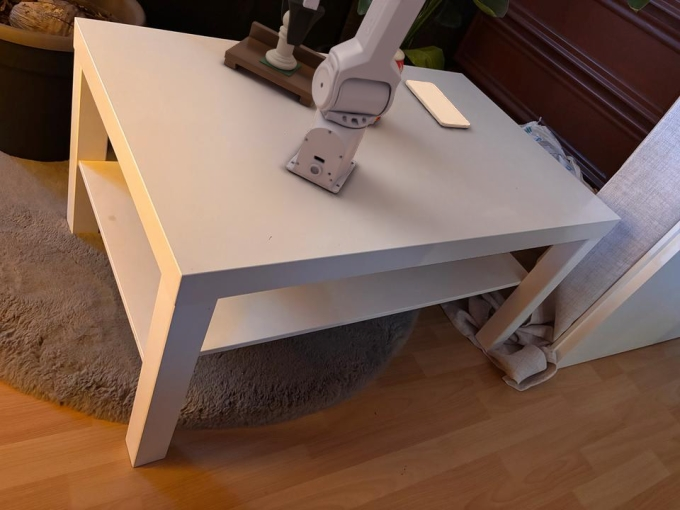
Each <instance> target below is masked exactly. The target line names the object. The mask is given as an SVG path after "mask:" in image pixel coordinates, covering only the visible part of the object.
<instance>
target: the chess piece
mask: <svg viewBox="0 0 680 510" xmlns="http://www.w3.org/2000/svg"><path fill="white" fill-rule="evenodd" d="M288 23H289V11H287V12H286V13H285V15H284V17H283V23H282V24H283V25H281V26H280V28H279V31H278V33H279V37H280V38H279V41H278V45H277V48H276V49H273V50H270V51H268V52H267V53H266V59H267V61H268V62H269V63H270V64H271V65H273V66H274V67H276V68H279V69H282V70H292V69H294V68H295V67H296V66H297V62H296V60H295V58H294V57H293V55H292V53H293V49H294V46H293V45H289V44H287V30H288Z"/></svg>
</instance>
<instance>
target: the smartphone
mask: <svg viewBox="0 0 680 510" xmlns="http://www.w3.org/2000/svg"><path fill="white" fill-rule="evenodd" d="M405 85H406V87H407V88H408V89H409V90H410V91H411V92H412V93H413V95H414V96H415V97H416V98H417V99H418V101H420V103H421V104H422V105H423V107H425V108H426V110H427V112H429V113H430V114H431V115H432V117H433V118H434V119H435V120H436V121H437V122H438V123H439V125H441V126H443V127H447V128H448V127H449V128H462V129H463V128H465V129H468V128H470V126H471V123H470V121H469V120H468V119H467V118H466V117H465V116H464V115H463V114H462V113H461V112H460V110H458V108H456V107H455V105H454V104H453V103H452V102H451V100H449V99H448V98H447V97H446V95H445V94H444V93H443V92H442V91H441V90H440V89H439V87H437V86H436V84H435V83H432V82H429V81H422V80H421V81H420V80H413V79H412V80H411V79H406V81H405Z"/></svg>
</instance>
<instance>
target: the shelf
mask: <svg viewBox="0 0 680 510" xmlns="http://www.w3.org/2000/svg"><path fill="white" fill-rule="evenodd" d="M279 38H280V37H279V31H278V32H277V31H276V30H274V29H272V28H270V27H267V26H266V25H263V24H262V23H260V22H258V21H256V20H255V21H253V22H252V23H251V27H250V31H249V34H248V36H247V37H245V38H243V39H242V40H240V41H239V42H237V43H236V44H234V45H233V46H231V47H230V48H228V49H226V50H225V52H224V56H223V58H224V61H223V64H224V65H226V66H227V67H229V68H231V69H234V70H235V69H237V68H238V67H242V68H244V69H247V70H248V71H250V72H252V73H254V74H256V75H257V76H260V77H262V78H264V79H266V80H268V81H269V82H271V83H274V84H276V85H277V86H280V87H282V88H283V89H286V90H287V91H289V92H292V93H293V94H296V95H297V96H299V97H300V99H299V103H301V104H303V105H305V106H307V107H308V108H311V107H312V106H313V105H314V104H315V102H314V100H313V96H312V82H313V77H314V74H315V71H316V69H317V68H318V67H319V65H320V64H321V63H322V62H323V61H324V60H325V59H326V58H327V56H326V55H323V54H322V53H319V52H317V51H315V50H313V49H312V48H309V47H307V46H306V45H303V44H301V45H300V47H297V46H294V49H293V53H292V55H293V57H294V58H295V60H296V62H297V66H296V67H295V68H294V69H292V70H282V69H279V68H276V67H274V66H273V65H271V64H270V63H269V62H268V61H267V59H266V53H267V52H268V51H270V50H273V49H276V48H277V45H278V41H279Z"/></svg>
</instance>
